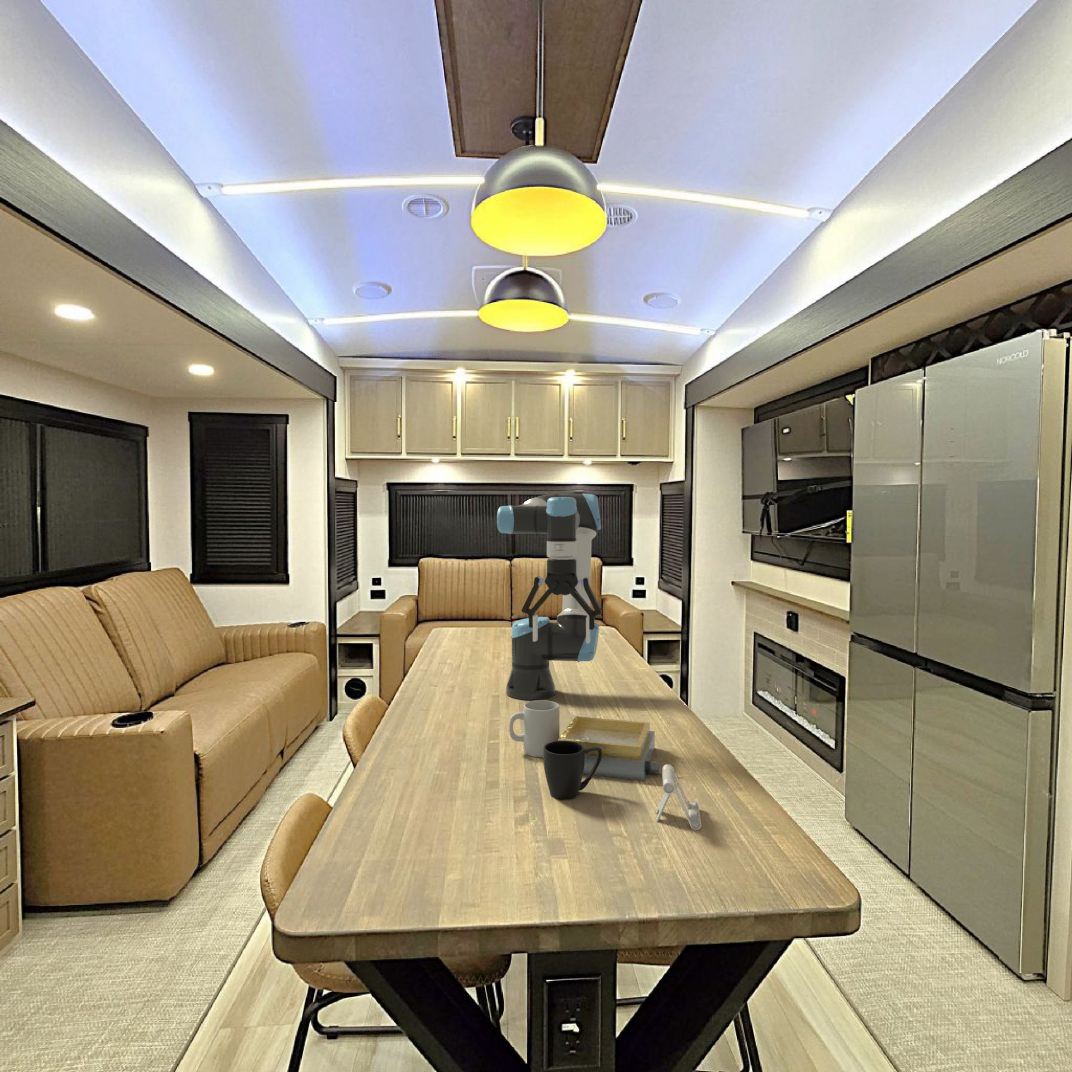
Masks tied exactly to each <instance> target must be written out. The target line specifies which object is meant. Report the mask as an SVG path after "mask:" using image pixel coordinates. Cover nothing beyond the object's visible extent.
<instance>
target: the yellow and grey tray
mask: <svg viewBox="0 0 1072 1072" xmlns="http://www.w3.org/2000/svg"><path fill="white" fill-rule="evenodd" d="M650 727H651V724H650V722H648V721H647V722H645V721H637V720H634V721H633V720H623V719H611V718H603V717H602V718H600V717H590V716H577V715H575V716H574V717H573V718H572V720H571V722H569V724H568V725H567V727H566V729H565V730H564V731H563V733H562V734H561V735H559V736H560V738H559V739H558V741H573V742H577V743H580V744H582V745H583V746H584V748H585V749H586V748H590V747H599V748H601V750H602V759H601V762H600V764H599V766H598V768H597V769H596V771H595V773H594V775H593V776H598V777H606V778H614V779H615V778H617V779H623V780H625V779H626V780H634V781H642V782H645V780H646V777H647V774H656V775H659V774H660V772H661V771H660V770H661V764H660V763H661V762H659V761H653V760H652V757H653V754H654V751H655V748H656V747H655V742H656V741H655V740H656V739H655V738H656V735H655V731H654V730H653V731H652V730H650V729H651V728H650ZM597 756H598V751H590V752H588V753H585V761H584V771H583V775H586V776H588V775H589V773H590V772H591V770H592V768H593V766H594V764H595V762H596V760H597ZM651 760H652V761H651Z"/></svg>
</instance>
